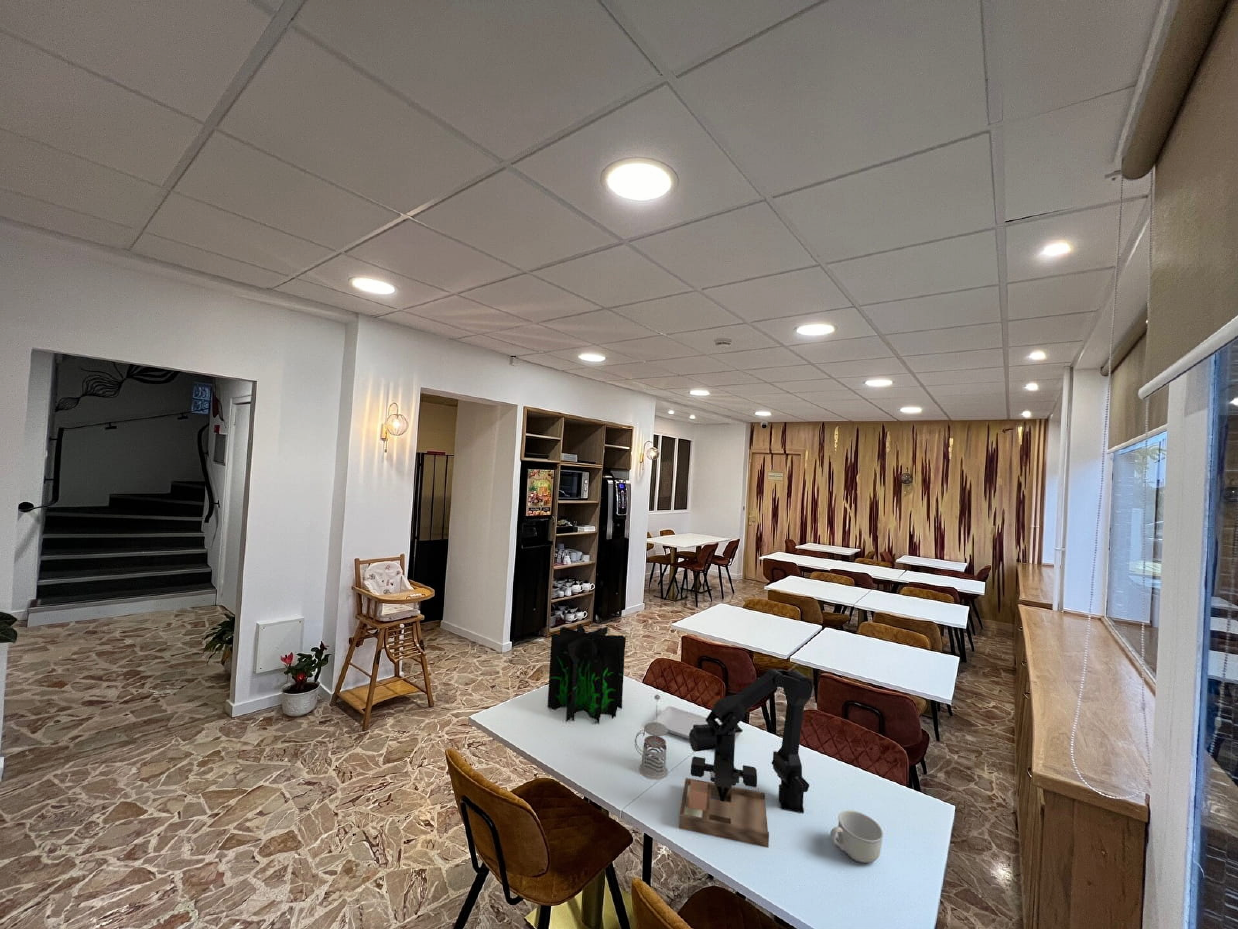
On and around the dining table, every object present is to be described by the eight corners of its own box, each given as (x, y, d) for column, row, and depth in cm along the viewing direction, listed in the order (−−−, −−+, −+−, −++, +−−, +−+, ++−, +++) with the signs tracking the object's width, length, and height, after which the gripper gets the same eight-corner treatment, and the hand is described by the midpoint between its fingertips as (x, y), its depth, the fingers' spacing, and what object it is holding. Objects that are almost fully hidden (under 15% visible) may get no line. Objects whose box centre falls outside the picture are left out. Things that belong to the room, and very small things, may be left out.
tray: (729, 758, 174) (730, 748, 174) (649, 731, 190) (650, 722, 190) (743, 737, 189) (743, 728, 189) (668, 714, 205) (668, 705, 205)
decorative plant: (579, 732, 186) (583, 652, 186) (535, 702, 208) (539, 631, 208) (633, 710, 205) (637, 638, 206) (588, 685, 227) (592, 620, 228)
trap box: (764, 804, 150) (765, 793, 150) (768, 847, 133) (769, 834, 133) (685, 789, 156) (685, 777, 156) (678, 828, 138) (679, 815, 138)
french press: (666, 782, 159) (670, 703, 159) (631, 775, 161) (635, 698, 161) (669, 764, 168) (673, 690, 169) (636, 759, 171) (639, 686, 171)
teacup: (867, 839, 138) (869, 810, 138) (890, 871, 127) (891, 839, 127) (818, 838, 137) (819, 809, 137) (837, 869, 126) (838, 838, 126)
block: (706, 800, 148) (707, 783, 148) (705, 811, 143) (706, 793, 143) (690, 796, 149) (690, 780, 149) (688, 807, 144) (689, 790, 144)
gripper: (690, 756, 139) (687, 812, 139) (759, 768, 135) (756, 826, 134) (693, 736, 150) (690, 788, 149) (757, 746, 145) (754, 800, 145)
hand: (722, 800), depth 144 cm, fingers closed
